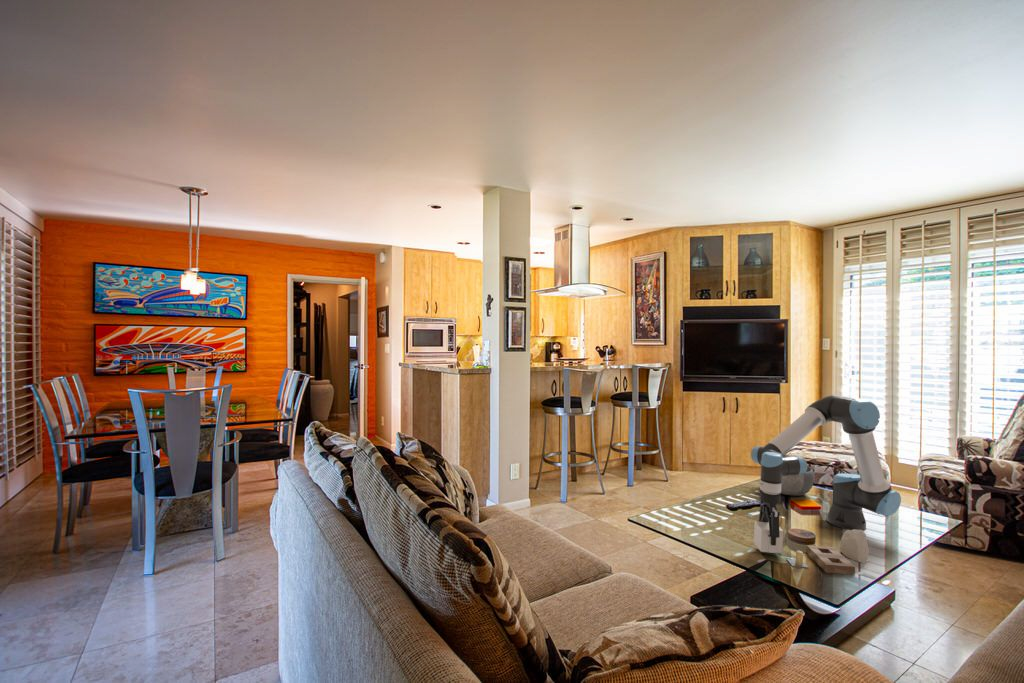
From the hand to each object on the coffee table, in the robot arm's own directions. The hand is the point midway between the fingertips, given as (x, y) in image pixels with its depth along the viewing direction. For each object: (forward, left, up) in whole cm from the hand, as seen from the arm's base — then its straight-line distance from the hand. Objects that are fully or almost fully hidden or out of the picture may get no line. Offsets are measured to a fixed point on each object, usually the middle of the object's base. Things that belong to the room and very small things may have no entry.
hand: (767, 547), depth 201 cm
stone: (-33, -2, -2) cm, 33 cm away
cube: (0, 0, 0) cm, 0 cm away
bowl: (-38, -78, -2) cm, 87 cm away
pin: (-8, -8, -2) cm, 11 cm away
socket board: (-21, +5, -2) cm, 22 cm away
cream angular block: (-8, +8, -2) cm, 11 cm away
